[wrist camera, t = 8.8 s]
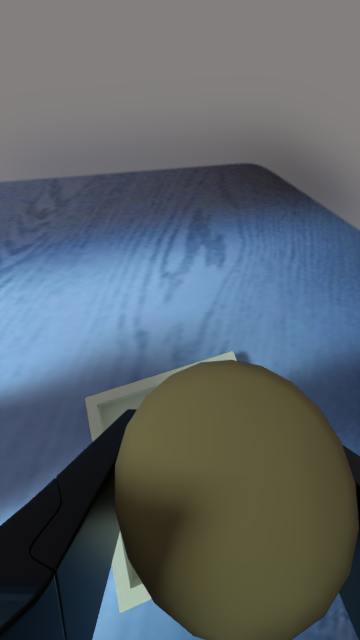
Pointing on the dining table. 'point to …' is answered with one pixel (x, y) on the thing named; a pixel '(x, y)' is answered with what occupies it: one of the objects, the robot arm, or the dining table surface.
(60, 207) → the dining table surface
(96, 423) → the tray
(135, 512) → the cork
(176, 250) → the dining table surface
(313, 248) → the dining table surface
